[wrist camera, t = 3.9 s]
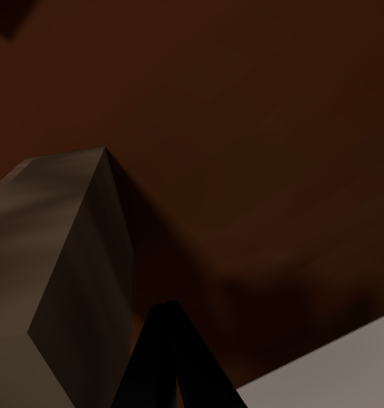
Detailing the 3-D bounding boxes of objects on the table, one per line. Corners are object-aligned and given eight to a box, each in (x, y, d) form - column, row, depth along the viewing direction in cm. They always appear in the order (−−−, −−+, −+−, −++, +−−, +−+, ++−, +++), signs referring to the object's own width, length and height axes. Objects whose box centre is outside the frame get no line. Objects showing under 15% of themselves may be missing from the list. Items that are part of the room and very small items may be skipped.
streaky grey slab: (104, 146, 14) (26, 332, 5) (134, 251, 18) (124, 484, 8) (25, 158, 14) (-239, 387, 4) (70, 263, 17) (-19, 521, 8)
